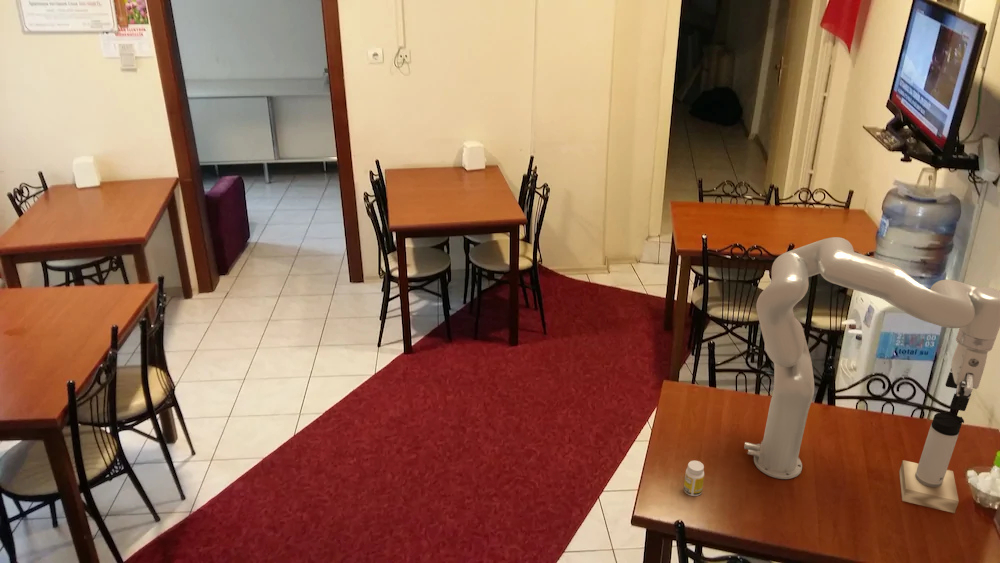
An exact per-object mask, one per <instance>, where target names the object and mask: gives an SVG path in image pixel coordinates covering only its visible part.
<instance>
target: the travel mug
mask: <svg viewBox="0 0 1000 563" xmlns="http://www.w3.org/2000/svg"><path fill="white" fill-rule="evenodd" d="M964 423H965V420H964V418H963V417H962V416H959V415H957V414H955V413H951V412H947V411H946V412H945V411H944V412H943V411H942V412H936V414H934V416H933V419H932V422H931V424H930V427H929V430H928V433H927V437H926V439H925V443H924V445H923V450H922V453H921V455H920V459H919V461H918V464H919V465H918V468H917V471H916V474H915V476H916V479H917V480H918V481H919V482H920V483H922V484H923V485H925V486H928V487H939V486H941V485H942V482H943V479H944V477H945V474H946V471H947V470H948V468H949V464H950V461H951V458H952V455H953V453H954V449H955V447H956V444H957V440H958V438H959V434H960V431H961V428H962V425H963V424H964Z"/></svg>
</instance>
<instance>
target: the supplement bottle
mask: <svg viewBox="0 0 1000 563" xmlns="http://www.w3.org/2000/svg"><path fill="white" fill-rule="evenodd" d="M704 468H705V466H704V464H703V463H702V462H701V461H700V460H690V461H689V462H688V464H687V467H686V469H685V475H684V482H683V483H684V484H683V491H684V493H686V494H687V495H688V496H692V497H698V496H700V495H701V494H702V493H703V487H704V481H705V470H704Z"/></svg>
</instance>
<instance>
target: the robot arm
mask: <svg viewBox="0 0 1000 563" xmlns="http://www.w3.org/2000/svg"><path fill="white" fill-rule="evenodd" d="M819 274H820V275H821V277H822V278H823V279H824V280H825V281H827V282H829V283H831V284H834V285H838V286H841V287H844V288H846V289H850V290H854V291H857V292H860V293H863V294H866V295H870V296H873V297H876V298H879V299H882V300H883V301H885V302H887V303H888V304H890V305H891V306H893V307H895V308H896V309H898V310H900V311H902V312H904V313H906V314H908V315H909V316H912V317H913V318H915V319H918V320H921V321H922V322H926V323H929V324H933V325H935V326H939V327H941V328H942V327H943V328H948V329H958V331H957V335H956V337H955V341H956V343H957V346H956V349H955V351H954V354H953V357H952V360H951V364H950V365H951V366H950V367H951V368H950V371H949V373H948V375H947V379H946V382H945V387H946V388H951V389H956V392H955V393H954V394H953V396H952V400H951V402H950V406H949V408H950V409H951V410H957V411H962V412H965V411H966V409H967V406H968V405H969V404H968V403H969V401H970V399H971V395H972V392H973V389H976V390H977V389H978V388H980V387H979V386H980V384H981V380H982V376H983V374H984V370H985V368H986V367H985V366H986V363H987V358H988V352H991V351H992V350H993V348H994V345H995V341H996V339H997V336H998V334H999V331H1000V290H999V289H997V288H994V287H988V286H981V287H979V286H975V285H971V284H968V283H966V282H961V281H958V280H954V279H941V280H937V281H936V282H935V283H933V285H931V287H930V289H929V288H927V287H926V286H924V285H922V284H921V283H919V282H918V281H916V280H915V279H914V278H913V277H912V276H910V275H909V274H908V272H906V271H905V270H904V269H903V268H901V267H900V266H898V265H896V264H894V263H892V262H888V261H884V260H882V259H877V258H874V257H871V256H867V255H864V254H862V253H859V252H856V251H855V250H854V247H853V244H852V243H851V242H850V241H849V240H848V239H845V238H843V237H838V236H836V237H835V236H833V237H827V238H823V239H821V240H817V241H815V242H812V243H809V244H805V245H802V246H799V247H797V248H794V249H791V250H789V251H788V250H787V251H786V252H784V253H781V254H780V255H779V256H778V257H776V258H775V259H774V261H773V262H772V266H771V282H770V283H769V284H768V285H767V286H765V288H764V289H763V290H762V292H760V294H759V296H758V298H757V301H756V304H755V305H756V308H755V309H756V314H757V318H758V321H759V326H760V330H761V335H762V338H763V342H764V347H765V348H764V349H765V351H766V354H767V356H768V358H769V360H770V361H772V362H773V369H774V372H773V373H774V374H773V375H774V376H773V377H774V378H773V379H774V380H773V382H774V383H773V391H772V395H771V396H772V397H771V398H770V403H769V408H768V414H767V419H766V424H765V429H764V434H763V439H762V440H761V441H760V443H752V442H747V441H744V446H743V447H744V450H748V451H747V455H751V456H753V463H754V465H755V466H756V468H757V469H758V470H759V471H760V472H762V473H763V474H765V475H767V476H769V477H771V478H775V479H778V480H779V479H780V480H790V479H793V478H796V477H798V476H799V475H800V474H801V473H802V469H803V462H802V461H801V459H800V457H799V455H800V449H801V445H802V440H803V437H804V436H803V435H804V433H805V432H804V431H805V427H806V424H807V420H808V414H809V411H810V407H811V404H812V402H813V398H814V395H815V379H814V377H815V376H814V370H813V362H812V357H811V355H810V354H811V353H810V351H809V346H808V342H807V340H806V335H805V331H804V328H803V325H802V323H801V322H800V321H799V320H798V319H797V318H796V316H795V313H794V307H795V306H796V305H797V304H798V303H799V302H800V301H801V300H802V299H803V298H804V297H805V296H806V294H807V293H808V289H809V286H810V285H809V277H810V278H811V277H813V276H816V275H819ZM963 382H964V383H963ZM961 388H963V389H962V390H961Z"/></svg>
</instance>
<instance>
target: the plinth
mask: <svg viewBox="0 0 1000 563" xmlns="http://www.w3.org/2000/svg"><path fill="white" fill-rule="evenodd" d="M918 465H919V462H918V463H917V462H913V461H909V460H905V459H904V460H903V459H902V462H901V465H900V468H899V470H898V471H899V481H900V489H901V490H900V492H901V500H902V502H905V503H909V504H915V505H918V506H923V507H926V508H931V509H935V510H940V511H944V512H948V513H952V514H955V513H956V511H957V507H958V505H959V502H960V501H959V500H960V499H959V495H958V490H957V489H958V488H957V485H956V479H955V475H954V471H953V470H950V469H947V471H946V474H945V477H944V479H943V482H942V485H941V486H939V487H928V486H925V485H923V484H922V483H920V482H919V481H918V480H917V479H916V476H915V474H916V471H917V468H918Z"/></svg>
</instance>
